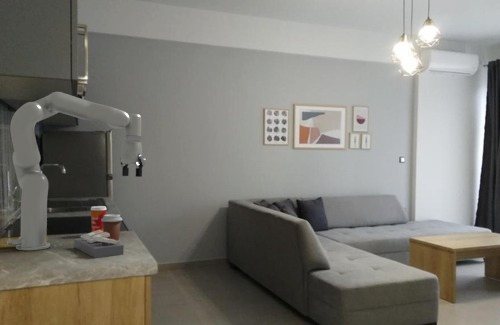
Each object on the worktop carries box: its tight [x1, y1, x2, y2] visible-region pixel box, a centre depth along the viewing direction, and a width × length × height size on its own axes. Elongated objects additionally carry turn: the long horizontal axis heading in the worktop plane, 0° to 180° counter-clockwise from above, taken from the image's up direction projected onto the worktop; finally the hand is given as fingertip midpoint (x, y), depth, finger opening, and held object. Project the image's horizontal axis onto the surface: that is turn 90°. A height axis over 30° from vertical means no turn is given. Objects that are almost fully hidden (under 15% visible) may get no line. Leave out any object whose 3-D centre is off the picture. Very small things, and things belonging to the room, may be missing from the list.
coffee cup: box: [101, 213, 123, 243], centre depth 188 cm, size 9×9×12 cm
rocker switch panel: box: [73, 238, 125, 259], centre depth 168 cm, size 11×24×4 cm, turn 40°
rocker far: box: [80, 230, 103, 240], centre depth 173 cm, size 8×4×1 cm, turn 131°
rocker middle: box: [86, 232, 110, 243], centre depth 168 cm, size 8×4×1 cm, turn 131°
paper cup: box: [90, 205, 107, 232], centre depth 203 cm, size 8×8×14 cm
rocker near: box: [93, 236, 118, 244], centre depth 162 cm, size 8×4×1 cm, turn 130°
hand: (131, 176), depth 196 cm, fingers open, 9 cm apart
